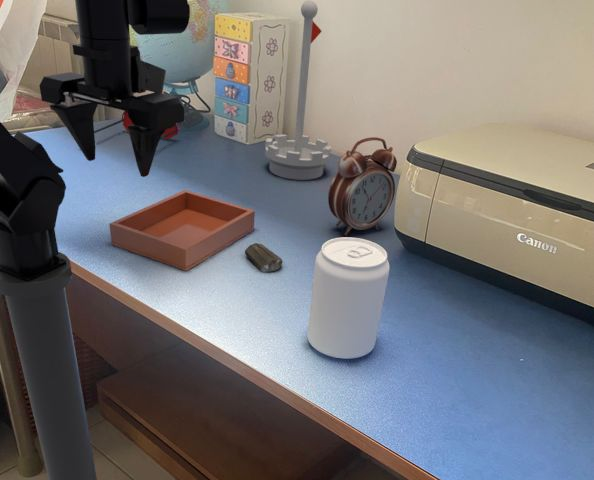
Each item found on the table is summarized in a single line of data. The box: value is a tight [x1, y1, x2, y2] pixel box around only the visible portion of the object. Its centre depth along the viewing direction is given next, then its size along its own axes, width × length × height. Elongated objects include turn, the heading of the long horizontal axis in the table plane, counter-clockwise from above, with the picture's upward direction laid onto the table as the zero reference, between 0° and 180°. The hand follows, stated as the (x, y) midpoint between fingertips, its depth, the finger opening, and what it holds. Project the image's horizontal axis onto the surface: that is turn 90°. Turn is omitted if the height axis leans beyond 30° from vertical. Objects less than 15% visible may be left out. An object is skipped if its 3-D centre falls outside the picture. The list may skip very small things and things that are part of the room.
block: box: [244, 242, 283, 273], centre depth 85 cm, size 4×6×2 cm, turn 37°
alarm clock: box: [327, 136, 398, 236], centre depth 93 cm, size 11×5×15 cm, turn 123°
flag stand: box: [264, 0, 332, 181], centre depth 111 cm, size 13×13×30 cm
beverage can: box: [306, 236, 390, 360], centre depth 66 cm, size 8×8×12 cm
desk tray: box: [108, 189, 256, 272], centre depth 89 cm, size 18×14×3 cm
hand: (117, 167), depth 78 cm, fingers open, 9 cm apart
